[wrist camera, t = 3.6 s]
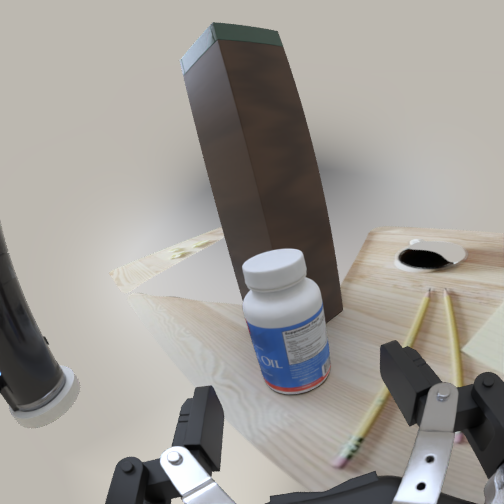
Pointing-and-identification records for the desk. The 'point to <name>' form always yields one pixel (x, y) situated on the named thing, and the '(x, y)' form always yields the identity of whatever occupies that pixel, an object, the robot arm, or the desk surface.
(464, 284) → the desk surface
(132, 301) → the desk surface
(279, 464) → the desk surface
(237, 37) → the socket
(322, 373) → the pill bottle
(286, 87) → the stand
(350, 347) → the desk surface
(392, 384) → the robot arm
